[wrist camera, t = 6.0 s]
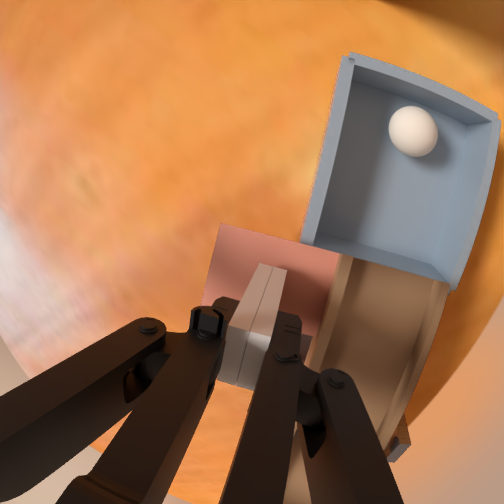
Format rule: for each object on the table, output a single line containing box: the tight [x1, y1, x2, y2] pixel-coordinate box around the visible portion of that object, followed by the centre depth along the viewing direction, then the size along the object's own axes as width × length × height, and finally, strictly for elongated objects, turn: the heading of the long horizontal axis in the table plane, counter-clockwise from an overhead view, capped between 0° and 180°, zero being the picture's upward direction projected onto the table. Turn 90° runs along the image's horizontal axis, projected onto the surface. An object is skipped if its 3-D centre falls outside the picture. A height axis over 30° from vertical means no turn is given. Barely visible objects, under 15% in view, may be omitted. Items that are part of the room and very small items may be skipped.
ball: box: [389, 106, 438, 157], centre depth 17 cm, size 4×4×4 cm
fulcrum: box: [300, 333, 411, 462], centre depth 23 cm, size 16×12×10 cm
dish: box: [299, 52, 501, 295], centre depth 18 cm, size 13×12×4 cm
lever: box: [201, 223, 450, 504], centre depth 17 cm, size 24×15×3 cm, turn 168°
